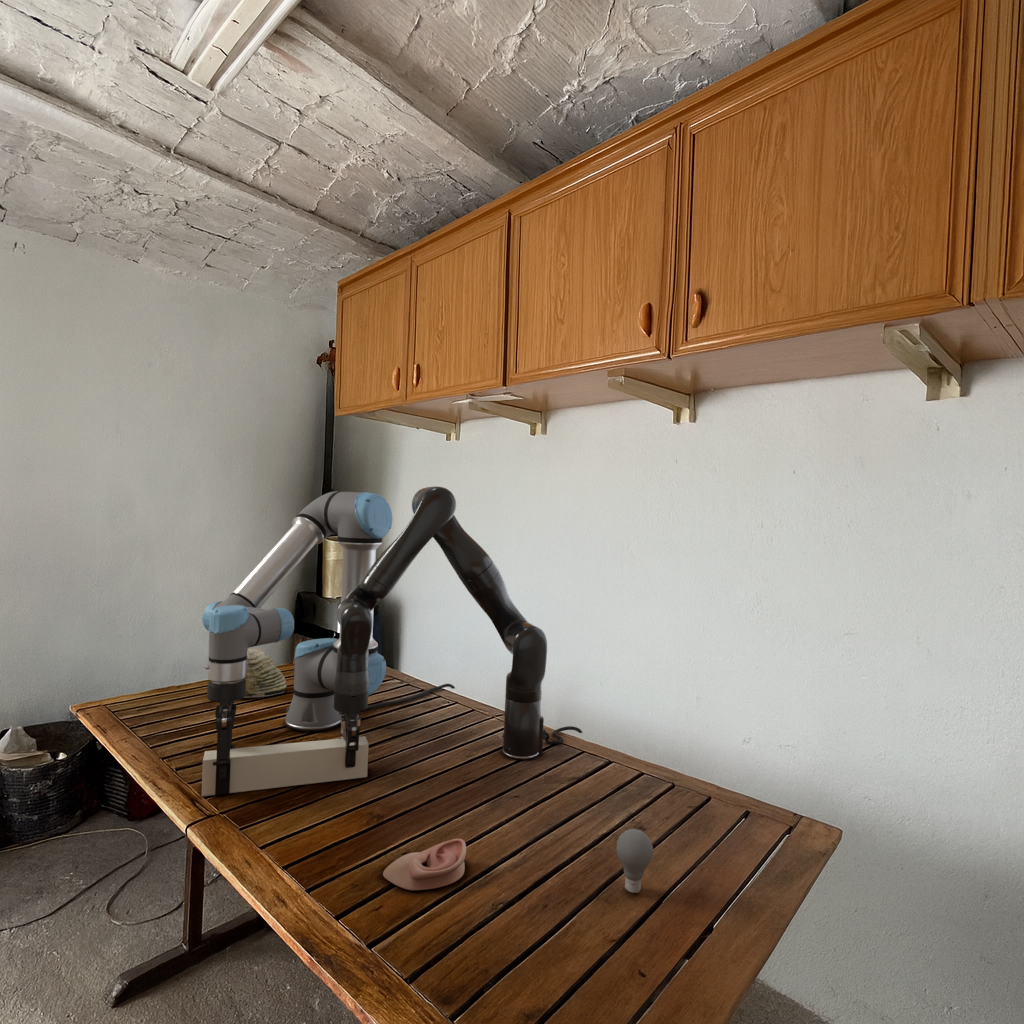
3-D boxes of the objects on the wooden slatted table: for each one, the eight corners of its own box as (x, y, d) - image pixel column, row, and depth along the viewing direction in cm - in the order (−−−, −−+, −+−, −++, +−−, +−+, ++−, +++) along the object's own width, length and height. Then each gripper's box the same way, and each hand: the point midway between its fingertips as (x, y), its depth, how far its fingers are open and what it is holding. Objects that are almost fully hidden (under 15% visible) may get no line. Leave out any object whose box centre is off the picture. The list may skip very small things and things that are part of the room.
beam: (201, 796, 132) (202, 760, 131) (203, 786, 136) (204, 751, 136) (367, 777, 144) (368, 744, 144) (364, 768, 149) (365, 736, 149)
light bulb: (610, 879, 108) (613, 822, 108) (644, 879, 109) (647, 822, 109) (619, 902, 102) (622, 840, 102) (655, 901, 103) (658, 840, 103)
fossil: (218, 695, 195) (220, 647, 195) (278, 685, 208) (279, 640, 207) (228, 703, 189) (230, 653, 188) (289, 692, 201) (290, 645, 201)
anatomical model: (376, 860, 104) (402, 826, 115) (375, 884, 104) (401, 847, 115) (453, 873, 101) (472, 837, 113) (452, 898, 101) (471, 859, 113)
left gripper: (211, 669, 142) (207, 771, 142) (203, 693, 125) (199, 809, 126) (247, 667, 145) (243, 768, 145) (244, 690, 128) (240, 804, 128)
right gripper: (331, 680, 150) (328, 751, 150) (337, 698, 136) (334, 777, 137) (363, 678, 153) (360, 748, 153) (373, 696, 139) (369, 773, 139)
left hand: (223, 787), depth 135 cm, fingers closed on beam, 5 cm apart
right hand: (348, 761), depth 145 cm, fingers closed on beam, 5 cm apart
